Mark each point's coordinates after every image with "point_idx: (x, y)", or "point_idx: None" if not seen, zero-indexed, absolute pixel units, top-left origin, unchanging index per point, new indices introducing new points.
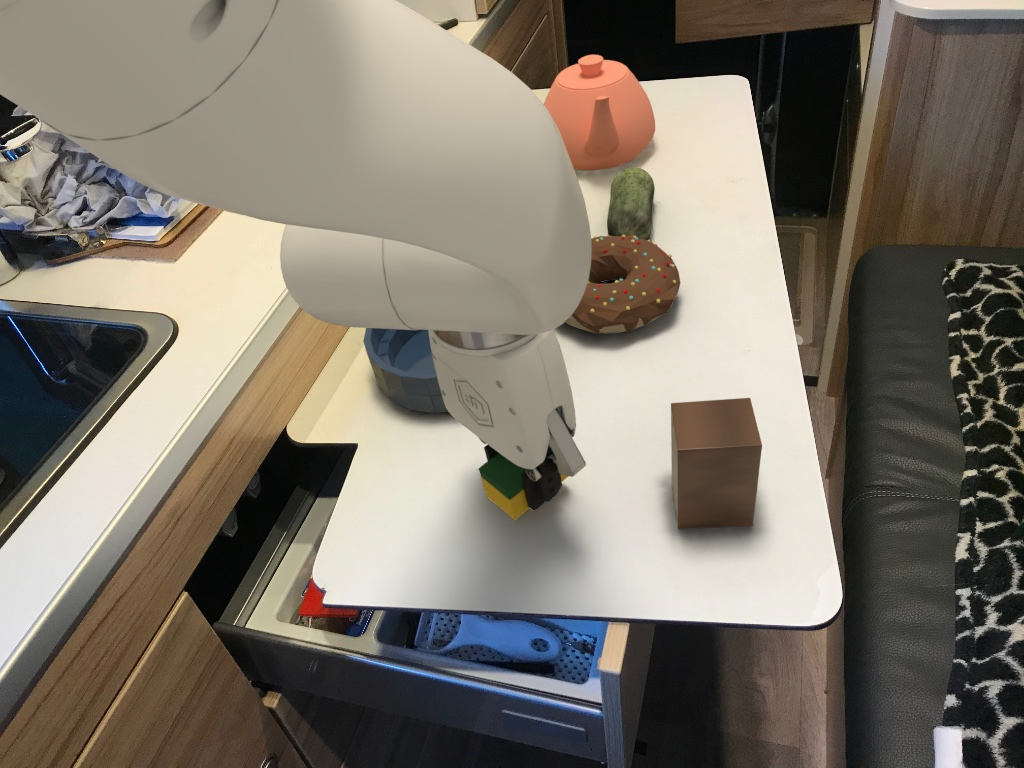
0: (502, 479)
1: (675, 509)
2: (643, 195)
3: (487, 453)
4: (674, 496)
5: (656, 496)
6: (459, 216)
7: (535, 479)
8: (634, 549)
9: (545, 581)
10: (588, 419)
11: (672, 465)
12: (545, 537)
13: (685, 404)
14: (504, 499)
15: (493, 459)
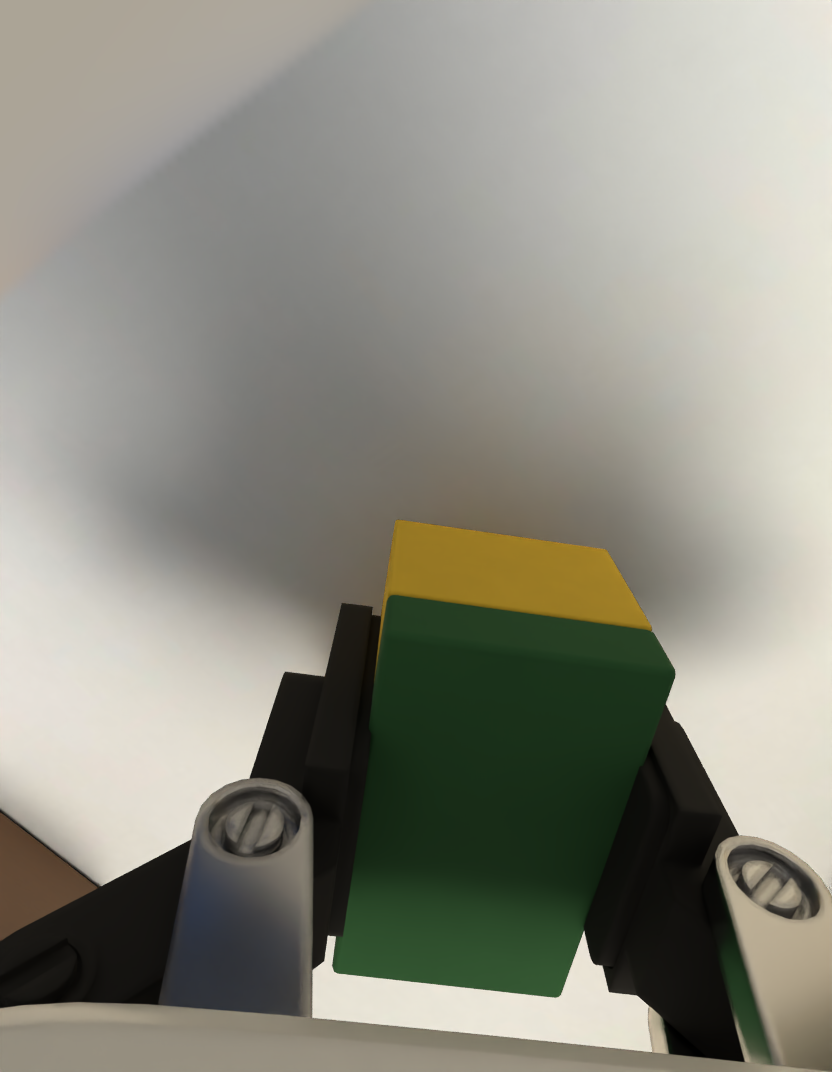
0: (481, 684)
1: (8, 834)
2: None
3: (683, 780)
4: (18, 878)
5: (108, 838)
6: None
7: (210, 806)
8: (3, 656)
9: (142, 365)
10: None
11: None
12: (293, 529)
13: None
14: (442, 582)
15: (626, 761)
